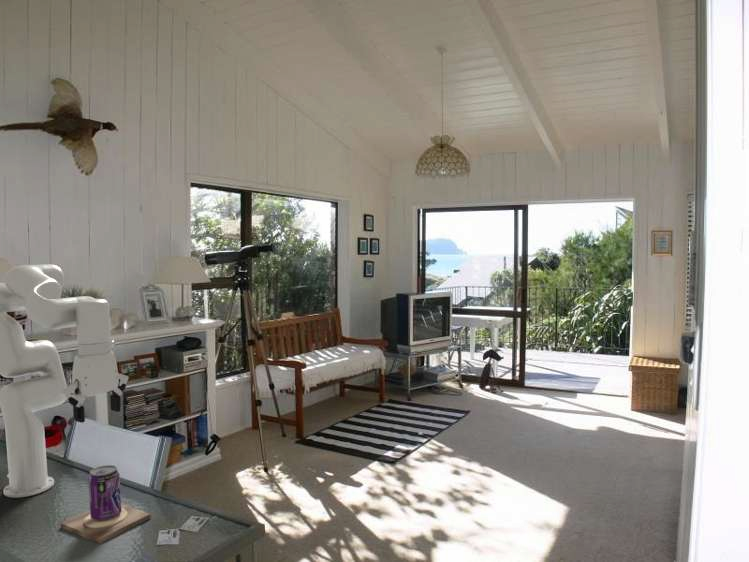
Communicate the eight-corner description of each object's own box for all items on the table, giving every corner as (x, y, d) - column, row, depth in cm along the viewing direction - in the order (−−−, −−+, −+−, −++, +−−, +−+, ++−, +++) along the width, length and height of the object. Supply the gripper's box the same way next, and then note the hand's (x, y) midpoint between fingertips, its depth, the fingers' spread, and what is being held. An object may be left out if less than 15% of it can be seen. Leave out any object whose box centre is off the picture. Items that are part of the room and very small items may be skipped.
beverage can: (109, 523, 143) (106, 476, 142) (84, 521, 144) (81, 474, 144) (127, 510, 150) (124, 465, 149) (103, 508, 151) (100, 463, 151)
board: (60, 527, 145) (60, 521, 145) (111, 504, 157) (111, 499, 157) (100, 543, 137) (99, 537, 137) (150, 518, 149) (150, 512, 149)
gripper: (116, 341, 155) (119, 405, 156) (51, 353, 140) (55, 423, 141) (134, 344, 151) (137, 409, 152) (69, 357, 136) (73, 428, 138)
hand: (98, 416), depth 147 cm, fingers open, 9 cm apart
